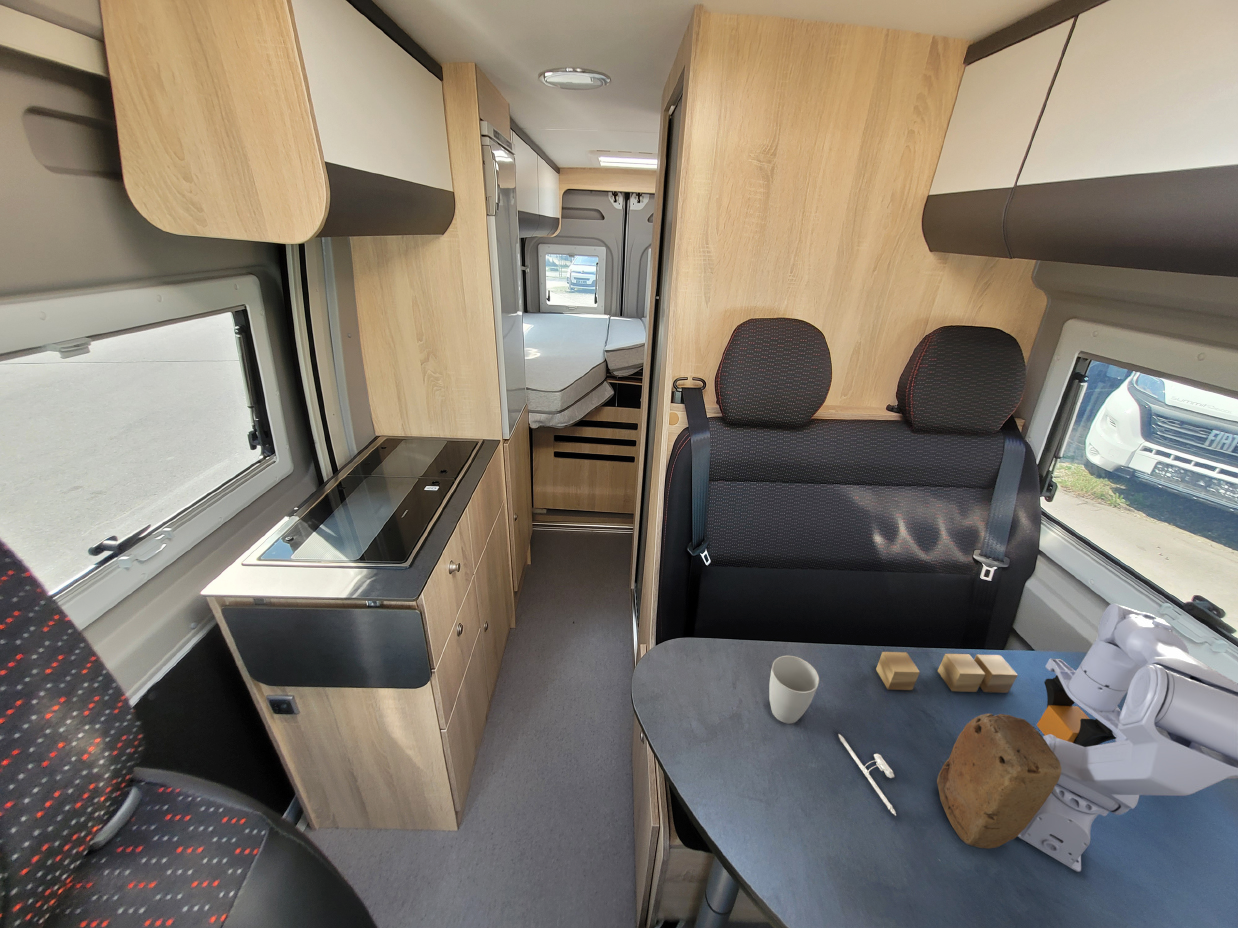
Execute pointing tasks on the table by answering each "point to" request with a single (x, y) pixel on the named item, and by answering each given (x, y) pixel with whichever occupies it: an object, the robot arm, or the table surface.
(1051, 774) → the brown speckled rounded part
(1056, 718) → the ochre cube
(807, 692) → the cup
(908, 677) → the birch cube
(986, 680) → the birch cube
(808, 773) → the table surface
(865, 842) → the table surface
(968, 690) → the birch cube
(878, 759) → the picture light
